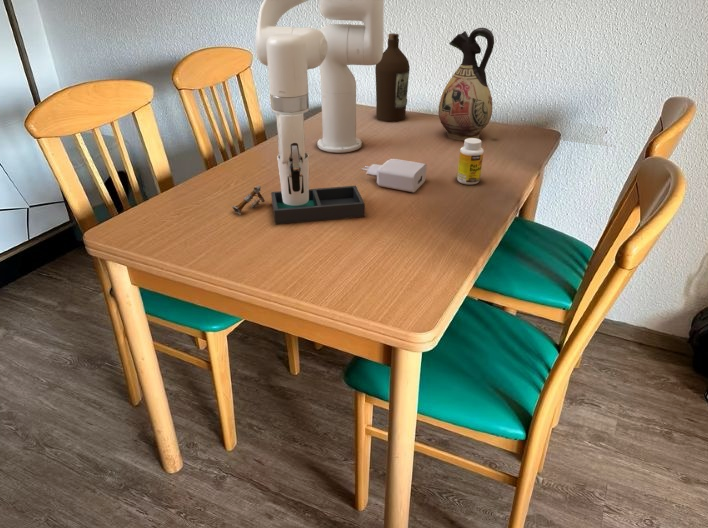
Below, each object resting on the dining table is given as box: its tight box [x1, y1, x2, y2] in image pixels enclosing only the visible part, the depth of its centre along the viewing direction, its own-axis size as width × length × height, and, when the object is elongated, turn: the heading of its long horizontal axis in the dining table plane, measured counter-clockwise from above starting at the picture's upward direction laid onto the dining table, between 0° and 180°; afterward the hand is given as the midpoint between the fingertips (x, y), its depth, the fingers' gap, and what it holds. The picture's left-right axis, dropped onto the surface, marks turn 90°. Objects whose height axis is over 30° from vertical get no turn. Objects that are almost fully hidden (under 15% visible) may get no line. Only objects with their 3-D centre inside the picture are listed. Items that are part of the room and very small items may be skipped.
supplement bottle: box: [456, 138, 485, 186], centre depth 139 cm, size 6×6×10 cm
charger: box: [361, 158, 428, 193], centre depth 140 cm, size 5×9×15 cm
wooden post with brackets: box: [231, 185, 266, 215], centre depth 128 cm, size 2×8×4 cm, turn 136°
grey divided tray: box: [270, 185, 366, 225], centre depth 127 cm, size 10×19×3 cm, turn 100°
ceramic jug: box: [438, 27, 495, 141], centre depth 162 cm, size 17×15×30 cm
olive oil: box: [374, 32, 410, 123], centre depth 180 cm, size 11×11×25 cm
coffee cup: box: [276, 151, 310, 206], centre depth 123 cm, size 7×7×10 cm
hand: (295, 188), depth 124 cm, fingers closed on coffee cup, 4 cm apart
